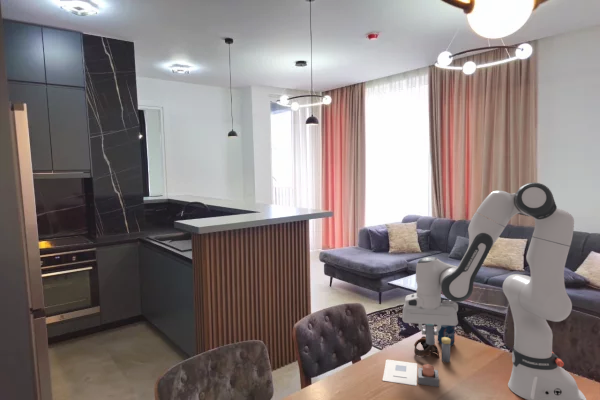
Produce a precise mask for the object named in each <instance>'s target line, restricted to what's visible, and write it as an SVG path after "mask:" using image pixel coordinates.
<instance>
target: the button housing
mask: <svg viewBox="0 0 600 400" xmlns="http://www.w3.org/2000/svg"><path fill="white" fill-rule="evenodd" d="M417 384H418V385H423V386H431V387H438V388H439V387H440V377H439V370H438V369H434V378H433V377H426V376H423V367H417Z"/></svg>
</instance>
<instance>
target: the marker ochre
mask: <svg viewBox="0 0 600 400" xmlns="http://www.w3.org/2000/svg"><path fill="white" fill-rule="evenodd" d="M450 343H451V339H450V338H448V337H442V345H441V361H442V362H444V363H450V362H451V346H450Z"/></svg>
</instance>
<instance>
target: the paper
mask: <svg viewBox="0 0 600 400" xmlns="http://www.w3.org/2000/svg"><path fill="white" fill-rule="evenodd" d="M384 365H385V366H384V371H383V376H382V382H389V383H393V384H394V383H395V384H402V385H408V386H413V387H414V386H415V387H416V386H417V384H418V363H416V362H410V361H409V362H408V361H402V360H395V359H394V360H393V359H386V360H385V364H384Z"/></svg>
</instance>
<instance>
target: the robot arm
mask: <svg viewBox="0 0 600 400" xmlns="http://www.w3.org/2000/svg"><path fill="white" fill-rule="evenodd" d="M516 215H522V216H525V217H532V218H533V219H534V222H535V223H534V229H533V233H532V236H531V238H530V239H531V240H530V243H529V246H528V250H527V252H526V258H525V259H526V262H527V264H528V267H529V271H530V276H529V275H527V274H526V275H524V274H520V273H515V274H510V275H508V276H507V277H506V278H505V279H504V281H503V283H502V292H503V294H504V295H505V297H506V299H507V302H508V304H509V308H510V311H511V316H512V320H513V327H514V343H513V344H514V345H513V346H512V353H511V357H512V358H511V361H512V369H511V374H510V378H509V380H508V383H507V386H508V389H509V390H510V391H511V392H513V393H514V394H515V395H517V396H519V397H520V398H523V399H525V400H587V398H586V396H585V394H584V393H583V392H582V390H581V389H579V387H578V383H577V381H576V379H575V378H574V377H573V375H571V374H570V373H569V371H567V370H565V368H563V367H564V366H565V363H564V362H563V360H562V359H561V358H559V356H558V355H557V354H555V352H553V331H552V328H551V327H550V325H549V323H548V321H551V322H562V321H564V320H566V319H567V318H568V317H569V316H570V314H571V313H572V309H573V303H572V300H571V298H570V297H569V295H568V293H567V289H566V284H565V267H566V263H567V258H568V254H569V251H570V248H571V245H572V241H573V236H574V230H575V229H574V228H575V226H574V225H575V219H574V217H573V215H572V214H570V213H569V212H568V211H566V210H563V209H560V208H558V206H557V204H556V202H555V199H554V194H553V193H552V190H551V189H550V188H549V187H548V186H547V185H545V184H543V183H540V182H529V183H525V184H524V185H521V186H520V187H519V188H518V190H516V192H513V193H509V192H507V191H505V190H497V189H496V190H493V191H492V192H490V193H488V195H487V196H486V197H485V198H484V199H483V200H482V202H481V203H480V205H479V206H478V208H477V209H476V212H474V214H473V215H472V217H471V219H470V221H469V224H468V226H467V227H468V228H467V231H468V246H467V247H468V248H467V250H466V252H465V253H464V255H463V257H462V259H461V260H460V262H459V264H458V265H453V264H451V263H447V262H445V261H442V260H440V259H438V257H435V256H426V257H423V258H420V259H419V260H418V261H417V263H416V266H415V281H416V292H414V293H411V294H407V295H405V298H404V304H403V308H402V316H401V317H402V321H403V323H405V324H418V327H419V329H420V330H421V335H422V336H426V330H425V328H423V325H425V324H434V326H435V325H436V327H437V328H436V329H435V328H434V336H437V337H438V331H439V330H440V329H441V325H450V326H455V327H456V326H457V325H458V324H459V320H458V315H457V313H458V311H459V304H458V303H461V302H464V301H467V299H469V298H470V297H471V295H472V293H473V291H474V281H475V279H476V277H477V274H479V271H480V269H481V267H482V265H483V264H484V262H485V260H486V259H487V257H488V256H489V255H488V254H489V253H490V251H491V249H492V247H493V246H494V244H495V243H496V242H497V240H498V239H499V237H500V236H501V234H502V233H503V231H504V230H505V229H506V227H507V226H508V224H509V222H510V221H511V220H512V218H513V217H514V216H516ZM441 294H443V296H444V297H445V298H446V299H447V300H446V299H442V295H441Z"/></svg>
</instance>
